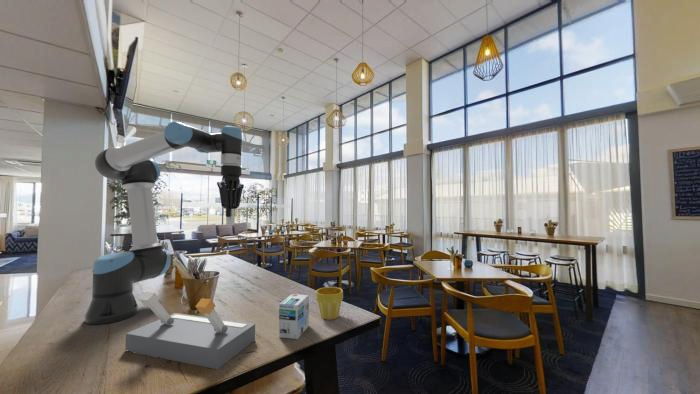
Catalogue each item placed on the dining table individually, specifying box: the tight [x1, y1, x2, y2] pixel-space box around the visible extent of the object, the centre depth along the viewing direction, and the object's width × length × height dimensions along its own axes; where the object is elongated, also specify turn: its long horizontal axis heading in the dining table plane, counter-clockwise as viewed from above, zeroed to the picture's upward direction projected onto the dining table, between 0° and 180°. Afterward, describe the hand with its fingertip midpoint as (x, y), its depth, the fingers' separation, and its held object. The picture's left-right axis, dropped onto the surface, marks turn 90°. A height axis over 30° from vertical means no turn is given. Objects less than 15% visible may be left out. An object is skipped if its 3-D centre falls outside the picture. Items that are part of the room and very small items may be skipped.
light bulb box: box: [278, 293, 310, 340], centre depth 92 cm, size 11×7×11 cm, turn 168°
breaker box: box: [125, 312, 256, 370], centre depth 83 cm, size 32×16×5 cm, turn 74°
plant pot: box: [315, 286, 344, 320], centre depth 105 cm, size 10×10×10 cm
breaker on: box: [138, 291, 174, 324], centre depth 83 cm, size 3×3×13 cm
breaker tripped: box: [195, 297, 228, 333], centre depth 77 cm, size 3×3×13 cm
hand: (230, 225), depth 109 cm, fingers closed
